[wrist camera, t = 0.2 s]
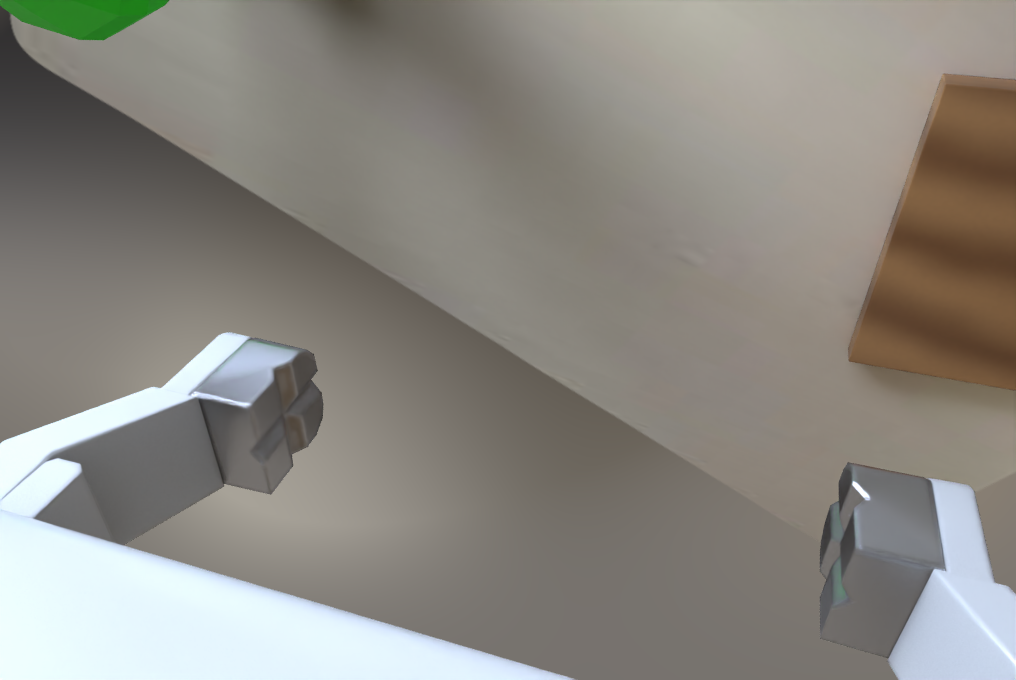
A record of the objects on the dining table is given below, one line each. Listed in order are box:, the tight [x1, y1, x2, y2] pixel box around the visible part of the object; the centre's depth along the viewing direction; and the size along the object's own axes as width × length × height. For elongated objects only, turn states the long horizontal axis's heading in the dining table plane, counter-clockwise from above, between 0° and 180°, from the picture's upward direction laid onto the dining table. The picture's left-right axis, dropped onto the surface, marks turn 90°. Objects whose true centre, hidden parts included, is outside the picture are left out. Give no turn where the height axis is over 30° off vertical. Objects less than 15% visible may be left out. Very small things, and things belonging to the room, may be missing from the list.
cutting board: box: [848, 74, 1016, 390], centre depth 47 cm, size 20×13×2 cm, turn 2°
